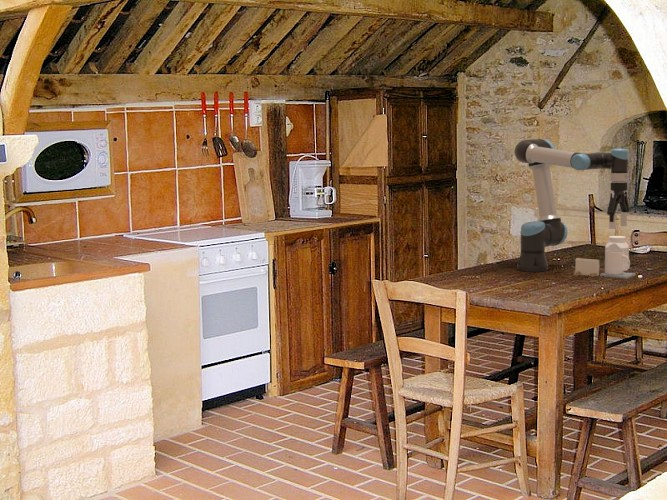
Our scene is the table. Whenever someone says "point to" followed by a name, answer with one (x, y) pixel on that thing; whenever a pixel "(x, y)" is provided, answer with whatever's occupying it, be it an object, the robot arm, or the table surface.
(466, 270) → the table surface
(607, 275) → the plate
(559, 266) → the table surface
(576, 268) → the beige block
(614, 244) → the jar
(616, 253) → the mug
